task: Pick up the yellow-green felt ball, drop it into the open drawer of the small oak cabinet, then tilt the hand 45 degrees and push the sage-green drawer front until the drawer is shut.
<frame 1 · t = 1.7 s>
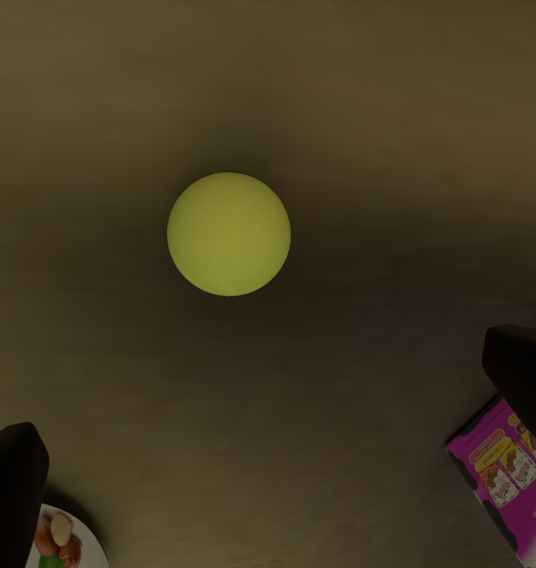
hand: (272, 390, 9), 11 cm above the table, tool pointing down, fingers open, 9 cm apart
candy bar box: (530, 395, 27), on the table
ball: (229, 235, 16), point 2 cm above the table
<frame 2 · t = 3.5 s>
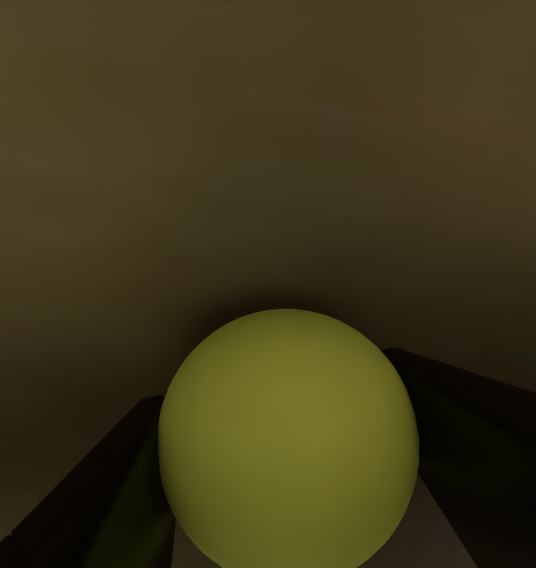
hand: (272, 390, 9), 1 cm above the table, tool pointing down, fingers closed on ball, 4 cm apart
ball: (286, 435, 8), point 2 cm above the table, touching gripper
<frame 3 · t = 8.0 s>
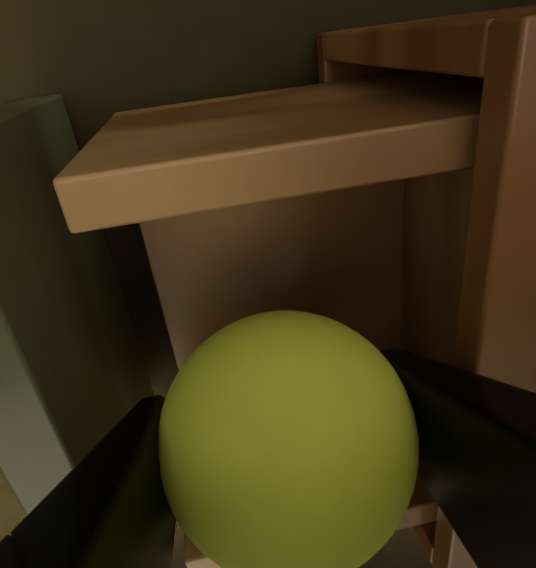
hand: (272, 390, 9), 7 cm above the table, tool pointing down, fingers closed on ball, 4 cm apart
drawer: (247, 313, 11), point 4 cm above the table, slide at 7.0 cm
ball: (286, 436, 8), point 9 cm above the table, touching gripper
cabinet: (486, 200, 16), on the table
when the fingers open (10 cm above the table, at t = 20.7 s): ball drops 7 cm, resting on drawer.
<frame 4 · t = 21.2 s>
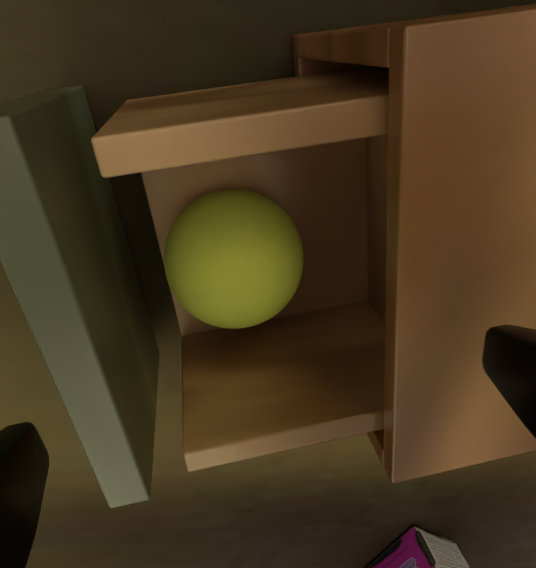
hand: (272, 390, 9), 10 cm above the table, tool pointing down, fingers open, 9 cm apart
drawer: (234, 262, 14), point 4 cm above the table, slide at 7.0 cm, touching ball
ball: (234, 259, 14), point 4 cm above the table, touching drawer
cabinet: (443, 178, 19), on the table
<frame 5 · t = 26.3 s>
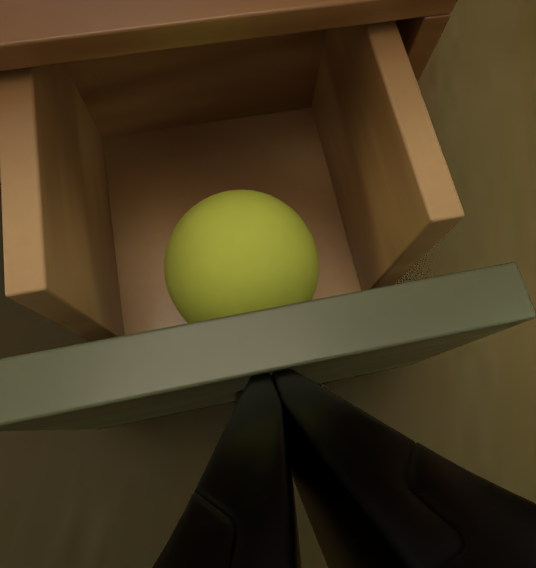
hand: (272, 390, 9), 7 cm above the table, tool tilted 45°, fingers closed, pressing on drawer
drawer: (231, 219, 13), point 4 cm above the table, slide at 6.2 cm, touching ball, gripper
ball: (242, 267, 13), point 4 cm above the table, tilted 39°, touching drawer
cabinet: (200, 88, 20), on the table
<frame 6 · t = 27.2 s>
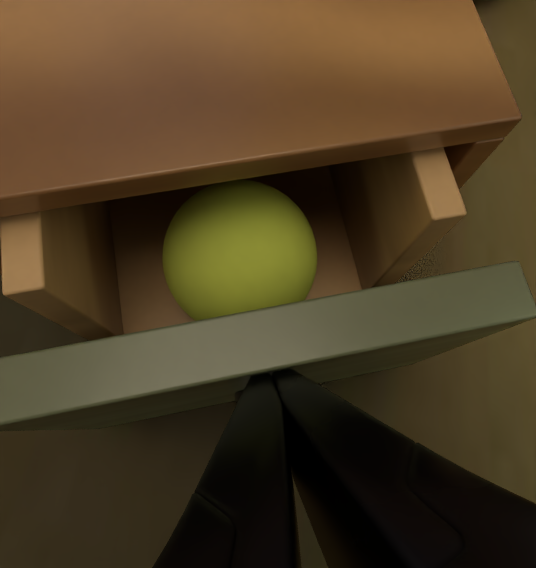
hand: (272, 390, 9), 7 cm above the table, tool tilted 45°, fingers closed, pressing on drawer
drawer: (231, 217, 13), point 4 cm above the table, slide at 2.6 cm, touching ball, gripper
ball: (240, 258, 13), point 4 cm above the table, tilted 33°, touching drawer
cabinet: (214, 157, 19), on the table
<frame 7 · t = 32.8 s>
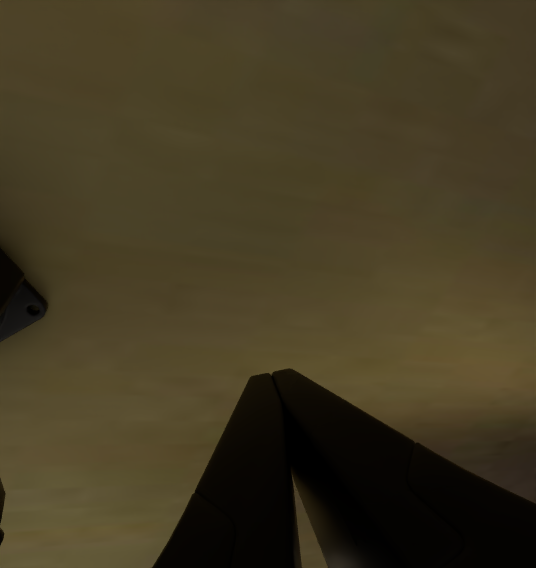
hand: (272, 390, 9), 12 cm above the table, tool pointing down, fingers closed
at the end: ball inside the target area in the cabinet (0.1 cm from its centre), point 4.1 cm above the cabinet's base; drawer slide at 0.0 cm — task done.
